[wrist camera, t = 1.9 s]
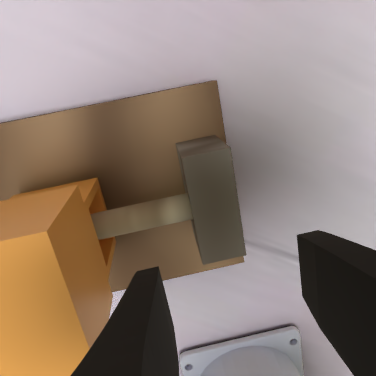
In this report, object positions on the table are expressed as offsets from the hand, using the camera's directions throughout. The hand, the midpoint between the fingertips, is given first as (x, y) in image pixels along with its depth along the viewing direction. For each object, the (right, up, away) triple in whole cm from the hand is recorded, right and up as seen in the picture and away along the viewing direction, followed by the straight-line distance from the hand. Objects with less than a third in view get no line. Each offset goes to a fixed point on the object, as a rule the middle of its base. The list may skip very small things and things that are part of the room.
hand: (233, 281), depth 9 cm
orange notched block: (-7, +1, +7) cm, 10 cm away
